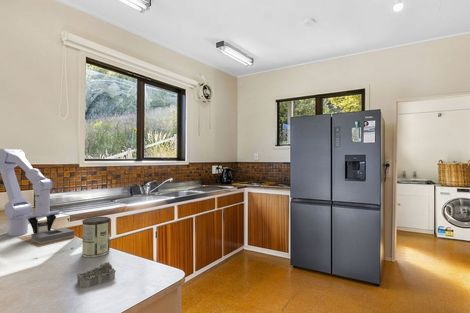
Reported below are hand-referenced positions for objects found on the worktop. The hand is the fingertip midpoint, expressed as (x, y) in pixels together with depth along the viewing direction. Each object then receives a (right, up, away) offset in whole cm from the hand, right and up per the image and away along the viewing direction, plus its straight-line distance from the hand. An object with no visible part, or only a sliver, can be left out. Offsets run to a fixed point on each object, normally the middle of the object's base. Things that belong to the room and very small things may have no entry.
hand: (42, 231), depth 131 cm
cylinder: (0, -2, 0) cm, 2 cm away
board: (+5, -3, -3) cm, 6 cm away
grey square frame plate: (+9, -2, -4) cm, 10 cm away
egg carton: (+50, -4, -44) cm, 67 cm away
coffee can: (+37, -4, -20) cm, 42 cm away
